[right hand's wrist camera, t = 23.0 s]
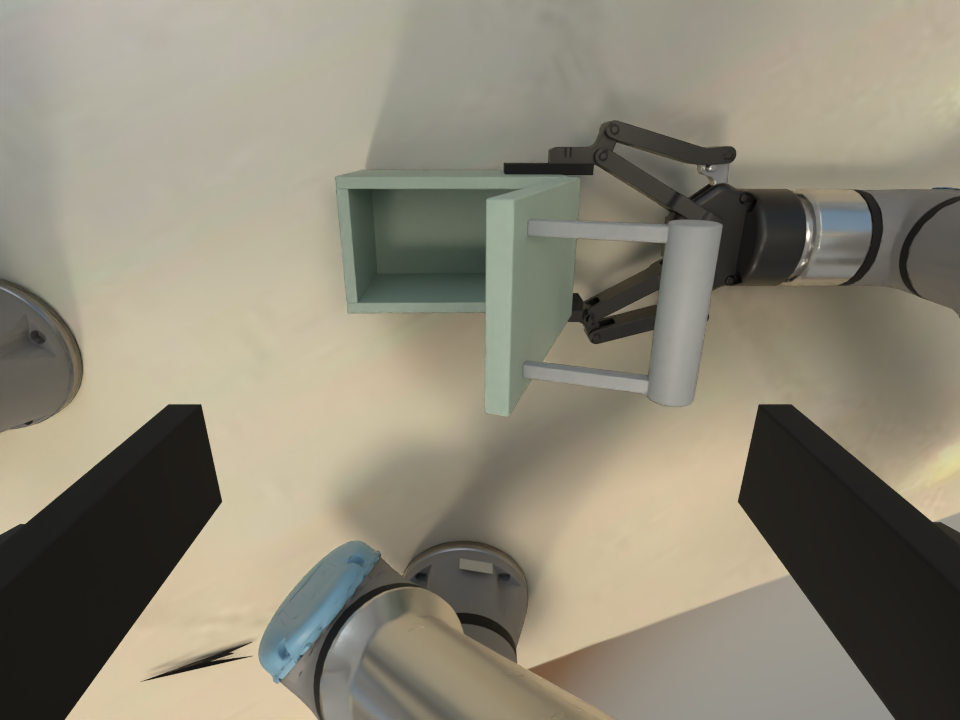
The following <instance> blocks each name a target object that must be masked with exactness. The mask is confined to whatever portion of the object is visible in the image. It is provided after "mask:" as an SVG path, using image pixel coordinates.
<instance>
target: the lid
mask: <svg viewBox="0 0 960 720" xmlns="http://www.w3.org/2000/svg"><path fill="white" fill-rule="evenodd" d="M580 181H581V179H580V177H563V178H559V179H556V180H552V181H549V182H545V183H541V184H538V185H534V186H531V187H527V188H523V189H520V190H516V191H513V192H509V193H506V194H502V195H498V196H495V197H491V198H488V199H487V200H486V299H485V413H487V414H493V415H500V416H506V417H508V416H509V415H510V414H511V412H512V410H513V409H514V407H515V406H516V404H517V402H518V401H519V399H520V397H521V396H522V394H523V393H524V391H525V389H526V388H527V386H528V384H529V383H530V381H531V380H532V379H538V380H545V381H552V382H560V383H567V384H575V385H582V386H590V387H597V388H605V389H612V390H620V391H627V392H634V393H642V394H646V395H647V397H648V398H649V399H650V400H651V401H653V402H655V403H657V404H660V405H664V406H670V407H683V406H688V405H690V404H691V403H692V402H693V401H694V396H695V390H696V384H697V378H698V372H699V366H700V360H701V354H702V348H703V342H704V336H705V330H706V324H707V317H708V311H709V305H710V299H711V293H712V287H713V281H714V275H715V269H716V263H717V257H718V251H719V245H720V239H721V233H722V227H723V226H722V224H720V223H718V222H713V221H705V220H673V221H670V222H669V223H668V224H647V223H625V222H602V221H579V220H578V210H579V196H580ZM577 239H595V240H614V241H633V242H651V243H665V249H664V257H663V265H662V272H661V280H660V288H659V296H658V303H657V311H656V319H655V327H654V334H653V342H652V350H651V358H650V366H649V373H648V375H641V374H633V373H625V372H617V371H609V370H601V369H593V368H585V367H577V366H569V365H561V364H552V363H544V362H543V360H544V359H545V357H546V355H547V354H548V352H549V350H550V349H551V347H552V346H553V344H554V342H555V341H556V339H557V337H558V336H559V334H560V333H561V331H562V329H563V328H564V326H565V324H566V323H567V321H568V320H569V318H570V316H571V313H572V298H573V284H574V269H575V254H576V240H577Z"/></svg>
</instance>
